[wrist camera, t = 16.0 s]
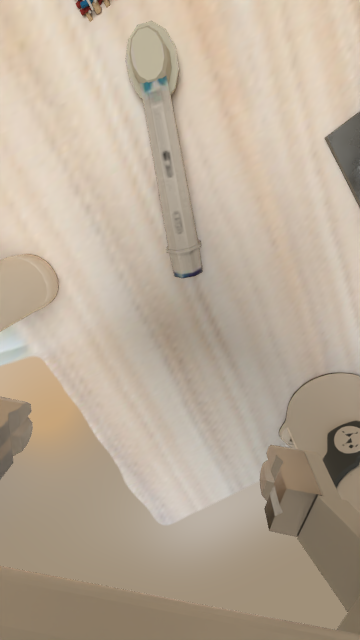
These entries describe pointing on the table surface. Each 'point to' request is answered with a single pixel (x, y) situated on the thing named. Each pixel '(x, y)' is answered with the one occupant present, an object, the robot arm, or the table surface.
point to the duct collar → (348, 152)
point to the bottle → (24, 287)
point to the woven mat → (91, 7)
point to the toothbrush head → (165, 139)
